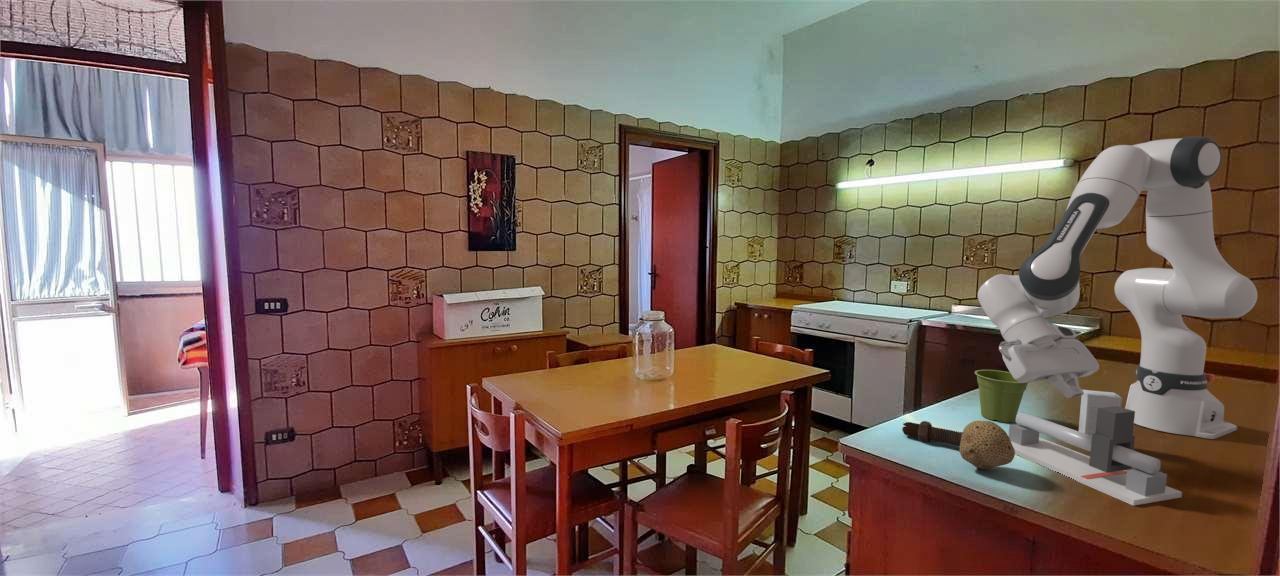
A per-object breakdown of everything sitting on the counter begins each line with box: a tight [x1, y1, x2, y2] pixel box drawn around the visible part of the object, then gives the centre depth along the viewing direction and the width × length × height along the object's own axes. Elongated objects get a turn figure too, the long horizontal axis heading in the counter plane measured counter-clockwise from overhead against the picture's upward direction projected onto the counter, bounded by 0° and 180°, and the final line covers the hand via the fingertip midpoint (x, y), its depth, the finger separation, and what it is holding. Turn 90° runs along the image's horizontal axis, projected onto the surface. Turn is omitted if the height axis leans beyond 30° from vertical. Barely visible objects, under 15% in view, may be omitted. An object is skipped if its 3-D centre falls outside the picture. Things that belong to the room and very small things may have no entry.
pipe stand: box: [1008, 411, 1183, 506], centre depth 105 cm, size 27×12×8 cm, turn 15°
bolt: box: [901, 420, 963, 448], centre depth 117 cm, size 6×5×15 cm
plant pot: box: [974, 369, 1030, 423], centre depth 134 cm, size 12×12×11 cm
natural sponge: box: [959, 420, 1016, 471], centre depth 104 cm, size 9×9×10 cm
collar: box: [1089, 406, 1136, 473], centre depth 99 cm, size 3×6×11 cm, turn 105°
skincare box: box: [1078, 389, 1123, 436], centre depth 117 cm, size 6×4×12 cm
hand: (1076, 396), depth 106 cm, fingers closed
